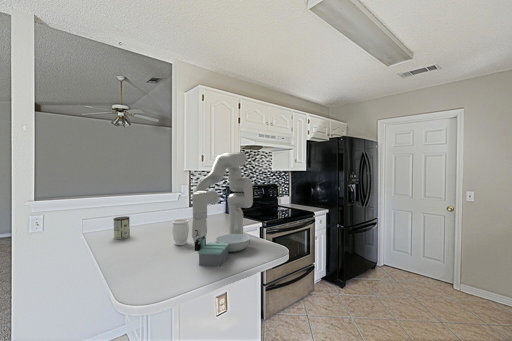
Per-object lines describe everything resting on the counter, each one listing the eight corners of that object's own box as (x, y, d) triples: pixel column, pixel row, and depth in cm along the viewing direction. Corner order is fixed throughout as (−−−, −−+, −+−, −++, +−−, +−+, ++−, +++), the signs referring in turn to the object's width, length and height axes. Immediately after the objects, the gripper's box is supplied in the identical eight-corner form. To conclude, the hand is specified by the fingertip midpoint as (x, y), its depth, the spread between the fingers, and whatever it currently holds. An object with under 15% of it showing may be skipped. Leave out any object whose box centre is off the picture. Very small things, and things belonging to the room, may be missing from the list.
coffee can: (119, 235, 184) (119, 216, 184) (132, 235, 183) (132, 216, 183) (110, 238, 174) (110, 219, 174) (124, 239, 173) (123, 219, 173)
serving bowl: (232, 242, 162) (232, 231, 162) (257, 248, 149) (257, 237, 149) (208, 250, 146) (207, 239, 146) (233, 258, 133) (232, 245, 133)
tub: (209, 255, 138) (209, 244, 138) (228, 255, 136) (228, 245, 136) (199, 265, 123) (198, 253, 123) (220, 266, 121) (219, 254, 121)
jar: (184, 246, 154) (183, 222, 154) (169, 245, 156) (168, 222, 156) (191, 241, 165) (191, 219, 165) (177, 240, 167) (177, 218, 167)
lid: (202, 246, 139) (202, 235, 139) (229, 247, 136) (228, 236, 136) (190, 256, 123) (190, 243, 123) (220, 257, 121) (220, 244, 121)
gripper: (199, 212, 140) (200, 243, 140) (186, 218, 123) (186, 254, 123) (212, 212, 139) (212, 244, 139) (200, 218, 122) (200, 254, 122)
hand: (200, 248), depth 131 cm, fingers open, 6 cm apart
